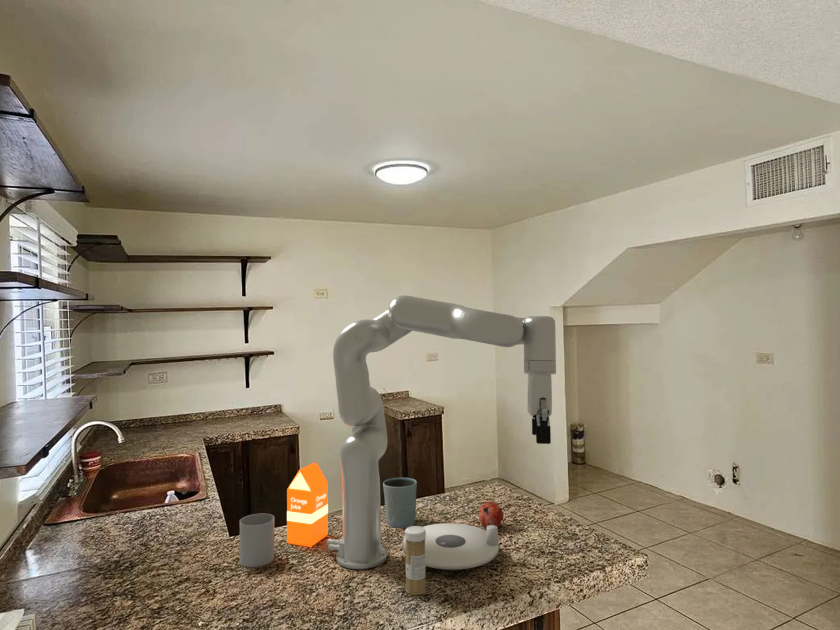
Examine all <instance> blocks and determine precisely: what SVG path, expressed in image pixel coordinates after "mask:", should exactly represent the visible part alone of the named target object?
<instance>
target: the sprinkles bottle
mask: <svg viewBox="0 0 840 630" xmlns="http://www.w3.org/2000/svg"><path fill="white" fill-rule="evenodd" d="M423 527H424V526H419V525H412V526H410V527H406V528H405V531H404V538H405V539H406V555H405V592H406V593H407V594H408V595H411V596H418V595H419V596H420V595H423V594H424V593H425V592H426V590H427V588H426V566H425V538H426V530H425V528H423Z"/></svg>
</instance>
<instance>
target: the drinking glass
mask: <svg viewBox="0 0 840 630" xmlns="http://www.w3.org/2000/svg"><path fill="white" fill-rule="evenodd" d="M417 484H418V482H417V480H416V479H414V478H410V477H393V478H388V479H385V480H384V481H383V483H382V487H383V495H384V496H383V497H384V510H385V520H386V525H387V526H389V527H391V528H394V529H395V528H396V529H403V528H405V529H406V528H408V527H411V526H415V524H416V513H417V512H416V511H417V509H416V508H417V497H416V496H417V486H418V485H417Z"/></svg>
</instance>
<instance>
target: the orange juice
mask: <svg viewBox="0 0 840 630" xmlns="http://www.w3.org/2000/svg"><path fill="white" fill-rule="evenodd" d="M328 485H329V482H328V480H327V479H326V477H325V475H324V473H323V471H322V470H321V468H320V466H319V465H318V463H317V462H316V461H315V462H313V463H310V464H309V465H307V466H304V467H302V468H299V470H298V472H297V473H296V475H295V476H294V478H293V479H292V481H291V483H290V484H289V485H288V488H287V489H286V503H287V504H286V508H287V509H286V535H287V536H286V543H287V544H291V545H296V546H305V547H309V548H311V547H313V546H314V545H315V544H317V543H318V542H319V541H321V540H322V539H324V538H325V537H326V536H328V535H329V531H328V530H329V528H328V527H329V522H328V521H329V520H328V519H329V517H328V516H329V515H328V514H329V501H328V500H329V497H328V493H329V492H328V490H329V486H328Z"/></svg>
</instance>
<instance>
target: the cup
mask: <svg viewBox="0 0 840 630" xmlns="http://www.w3.org/2000/svg"><path fill="white" fill-rule="evenodd" d="M274 560H275V515H273V514H271V513H254V514H249V515H247V516H244V517H242V518H241V519H239V565H241V566H242V567H245V568H259V567H263V566H266V565H269V564H270V563H272V562H273V561H274Z"/></svg>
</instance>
